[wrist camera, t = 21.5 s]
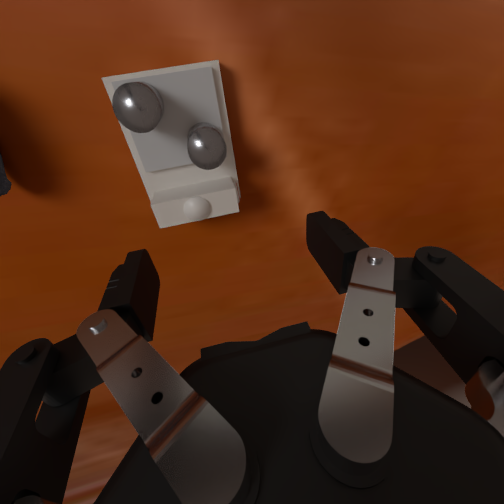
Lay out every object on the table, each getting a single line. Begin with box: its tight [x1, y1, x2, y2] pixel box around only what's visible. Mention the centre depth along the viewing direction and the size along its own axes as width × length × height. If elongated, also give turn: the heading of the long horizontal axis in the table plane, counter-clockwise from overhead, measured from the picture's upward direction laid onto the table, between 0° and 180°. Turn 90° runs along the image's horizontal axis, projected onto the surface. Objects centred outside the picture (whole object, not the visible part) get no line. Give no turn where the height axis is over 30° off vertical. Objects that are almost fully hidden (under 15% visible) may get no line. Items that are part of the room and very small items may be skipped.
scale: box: [102, 60, 241, 228], centre depth 32 cm, size 17×13×7 cm
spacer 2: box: [187, 122, 227, 170], centre depth 31 cm, size 4×4×5 cm
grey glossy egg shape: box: [112, 81, 164, 133], centre depth 27 cm, size 4×4×5 cm
